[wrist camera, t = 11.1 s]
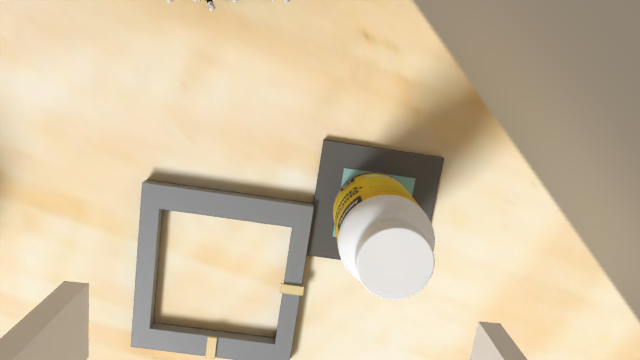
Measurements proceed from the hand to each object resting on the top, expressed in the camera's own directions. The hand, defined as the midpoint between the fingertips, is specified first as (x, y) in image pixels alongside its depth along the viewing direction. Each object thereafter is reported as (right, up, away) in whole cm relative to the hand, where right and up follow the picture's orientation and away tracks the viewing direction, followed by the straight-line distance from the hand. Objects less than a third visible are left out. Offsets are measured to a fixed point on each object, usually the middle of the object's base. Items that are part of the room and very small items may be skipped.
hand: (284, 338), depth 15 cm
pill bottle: (+5, +3, +23) cm, 24 cm away
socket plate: (-7, -3, +24) cm, 26 cm away
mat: (+6, +3, +23) cm, 24 cm away
